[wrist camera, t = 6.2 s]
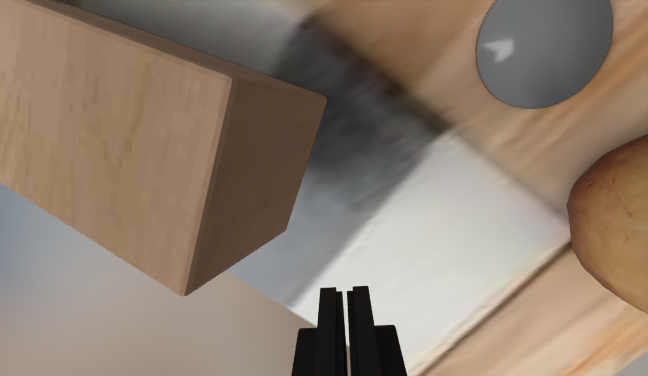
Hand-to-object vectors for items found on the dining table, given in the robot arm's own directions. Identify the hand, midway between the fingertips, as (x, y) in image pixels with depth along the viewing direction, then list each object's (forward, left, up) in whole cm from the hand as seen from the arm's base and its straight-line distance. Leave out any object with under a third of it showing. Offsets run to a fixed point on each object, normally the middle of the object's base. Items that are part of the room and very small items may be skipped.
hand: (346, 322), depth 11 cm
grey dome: (-10, +16, -19) cm, 27 cm away
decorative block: (-3, -4, -7) cm, 8 cm away
